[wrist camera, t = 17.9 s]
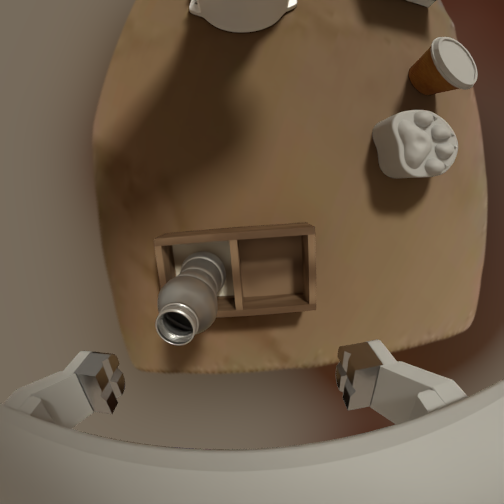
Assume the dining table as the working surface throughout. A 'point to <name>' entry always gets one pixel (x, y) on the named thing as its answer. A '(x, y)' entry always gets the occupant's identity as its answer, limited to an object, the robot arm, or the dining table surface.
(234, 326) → the dining table surface
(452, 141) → the lumpy-topped squat cylinder
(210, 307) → the metal bottle
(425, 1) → the tea box
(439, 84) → the disposable coffee cup
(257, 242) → the bottle carrier
